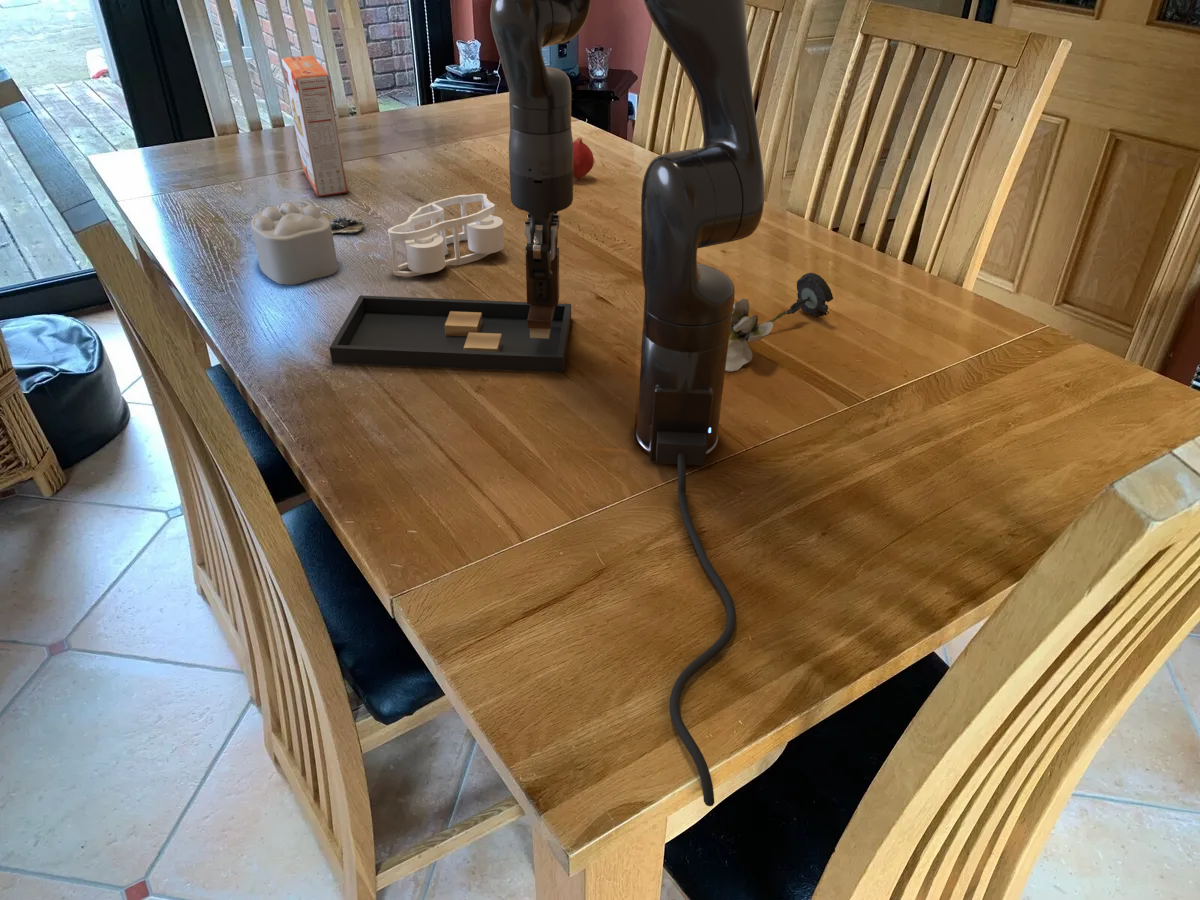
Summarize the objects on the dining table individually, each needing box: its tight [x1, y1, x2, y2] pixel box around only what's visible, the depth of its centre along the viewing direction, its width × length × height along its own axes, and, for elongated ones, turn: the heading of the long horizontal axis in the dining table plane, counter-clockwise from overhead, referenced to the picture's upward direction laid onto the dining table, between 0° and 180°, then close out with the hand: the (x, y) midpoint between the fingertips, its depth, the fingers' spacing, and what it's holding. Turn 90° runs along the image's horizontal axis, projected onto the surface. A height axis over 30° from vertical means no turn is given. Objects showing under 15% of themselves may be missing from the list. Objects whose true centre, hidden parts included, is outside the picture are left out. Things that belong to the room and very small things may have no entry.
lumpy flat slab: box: [330, 216, 366, 234], centre depth 149 cm, size 7×8×2 cm
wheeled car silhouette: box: [387, 193, 505, 277], centre depth 139 cm, size 20×11×7 cm, turn 132°
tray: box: [328, 294, 572, 374], centre depth 119 cm, size 15×30×3 cm, turn 87°
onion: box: [573, 137, 595, 181], centre depth 169 cm, size 6×6×8 cm
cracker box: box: [281, 54, 349, 198], centre depth 160 cm, size 14×6×21 cm, turn 25°
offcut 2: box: [464, 332, 502, 352], centre depth 117 cm, size 4×4×2 cm
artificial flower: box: [725, 272, 834, 373], centre depth 120 cm, size 9×22×10 cm, turn 128°
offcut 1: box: [445, 311, 482, 336], centre depth 121 cm, size 4×4×2 cm
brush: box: [525, 247, 560, 339], centre depth 114 cm, size 10×4×10 cm, turn 177°
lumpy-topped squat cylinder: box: [250, 202, 339, 286], centre depth 136 cm, size 10×13×9 cm
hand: (543, 296), depth 115 cm, fingers closed on brush, 2 cm apart
